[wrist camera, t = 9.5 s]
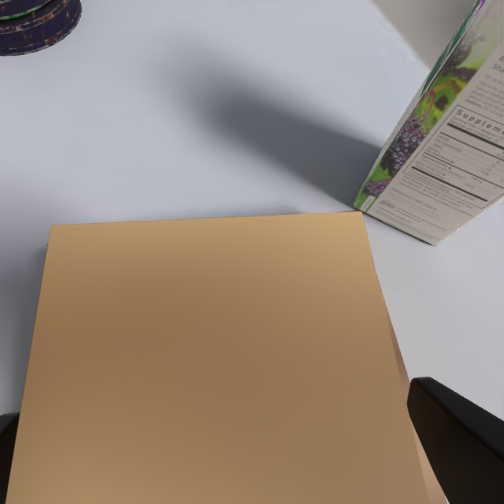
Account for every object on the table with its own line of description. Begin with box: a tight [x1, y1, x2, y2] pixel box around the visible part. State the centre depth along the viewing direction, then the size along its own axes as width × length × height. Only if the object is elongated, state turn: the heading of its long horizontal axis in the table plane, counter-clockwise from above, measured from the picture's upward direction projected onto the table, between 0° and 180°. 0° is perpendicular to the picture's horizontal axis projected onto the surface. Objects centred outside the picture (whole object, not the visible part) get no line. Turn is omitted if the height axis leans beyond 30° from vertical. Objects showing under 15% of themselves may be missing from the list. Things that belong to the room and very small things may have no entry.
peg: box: [5, 211, 430, 504], centre depth 11 cm, size 4×4×14 cm
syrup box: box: [353, 0, 504, 246], centre depth 15 cm, size 6×6×14 cm
